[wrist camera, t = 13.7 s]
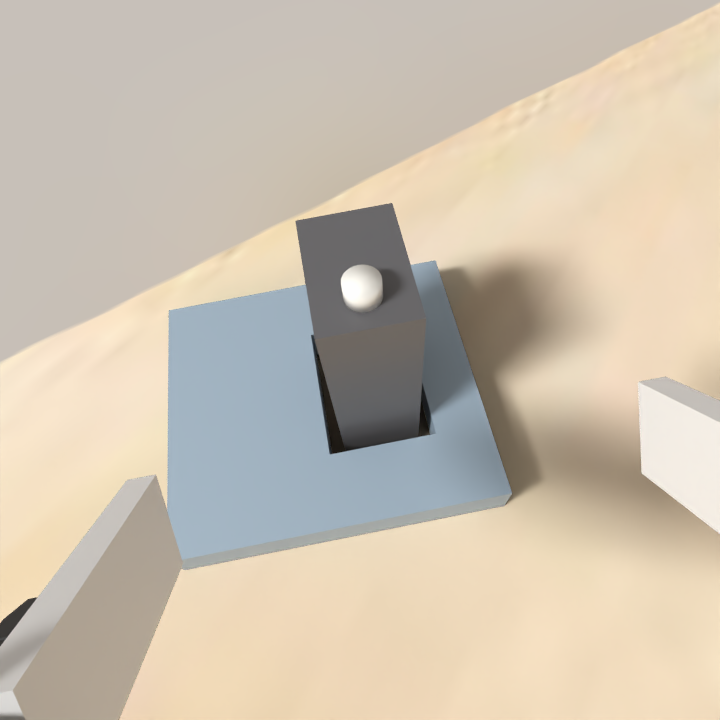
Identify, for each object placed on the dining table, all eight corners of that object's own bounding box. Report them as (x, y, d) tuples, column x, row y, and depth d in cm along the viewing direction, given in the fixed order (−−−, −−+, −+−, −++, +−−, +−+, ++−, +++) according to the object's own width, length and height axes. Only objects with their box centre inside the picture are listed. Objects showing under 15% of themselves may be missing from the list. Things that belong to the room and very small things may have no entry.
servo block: (395, 350, 35) (391, 185, 23) (418, 440, 32) (427, 303, 19) (330, 363, 35) (291, 203, 23) (346, 454, 31) (310, 325, 19)
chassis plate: (433, 283, 37) (435, 260, 35) (504, 505, 29) (512, 493, 27) (182, 331, 37) (168, 310, 35) (184, 570, 29) (167, 562, 27)
